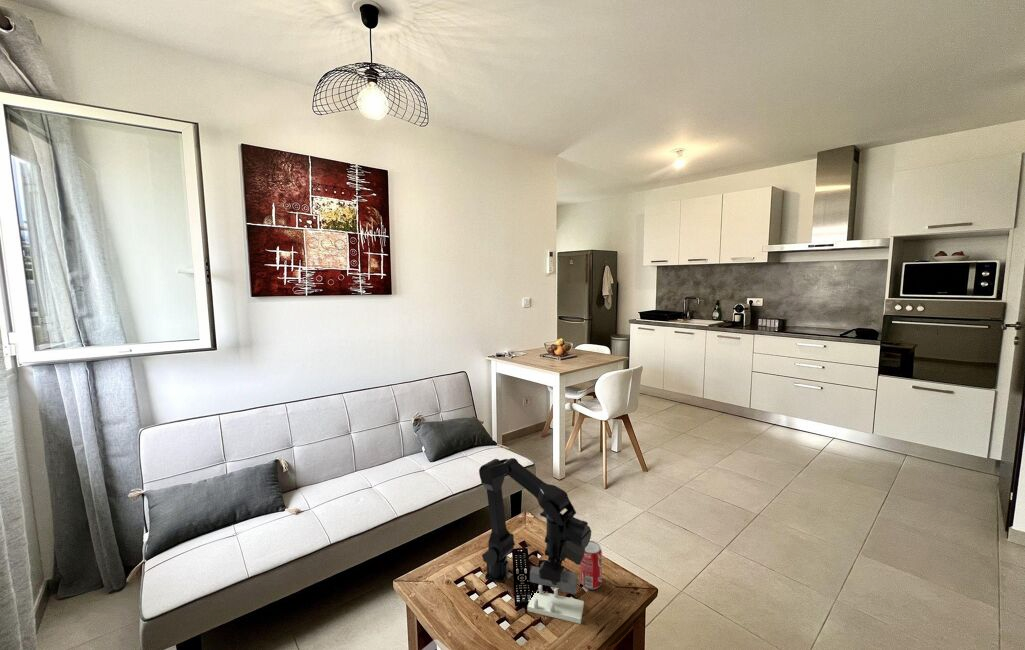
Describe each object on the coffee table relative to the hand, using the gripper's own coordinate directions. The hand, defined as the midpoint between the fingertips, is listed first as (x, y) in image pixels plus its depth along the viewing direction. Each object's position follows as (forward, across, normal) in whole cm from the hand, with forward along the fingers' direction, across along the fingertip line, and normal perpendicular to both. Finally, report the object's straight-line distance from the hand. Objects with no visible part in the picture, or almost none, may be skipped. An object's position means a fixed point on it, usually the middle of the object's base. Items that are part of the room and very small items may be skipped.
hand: (555, 580), depth 124 cm
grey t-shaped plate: (+1, 0, 0) cm, 1 cm away
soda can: (+9, +14, -9) cm, 19 cm away
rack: (+9, 0, 0) cm, 9 cm away
